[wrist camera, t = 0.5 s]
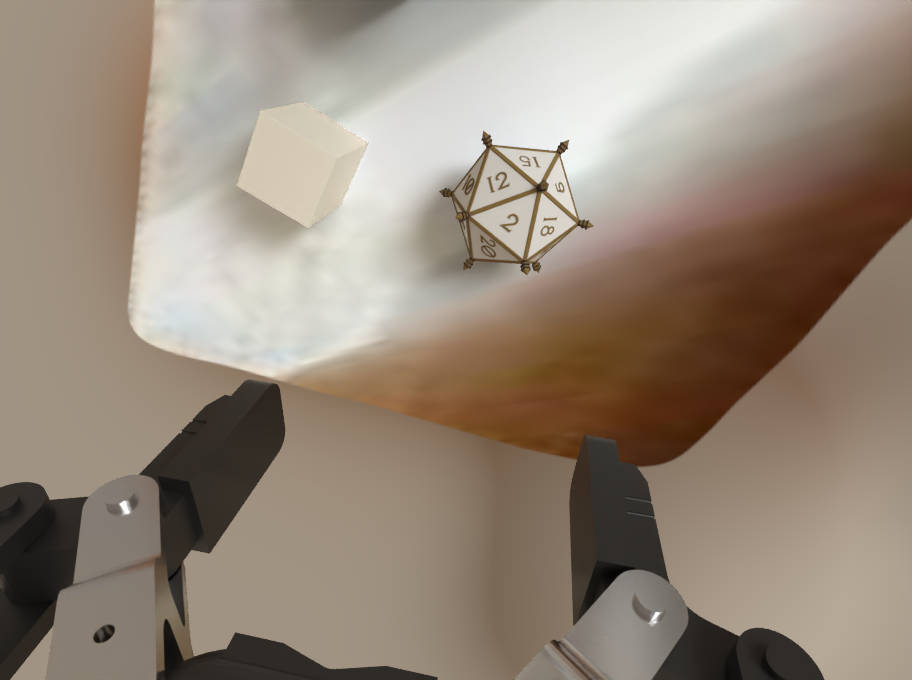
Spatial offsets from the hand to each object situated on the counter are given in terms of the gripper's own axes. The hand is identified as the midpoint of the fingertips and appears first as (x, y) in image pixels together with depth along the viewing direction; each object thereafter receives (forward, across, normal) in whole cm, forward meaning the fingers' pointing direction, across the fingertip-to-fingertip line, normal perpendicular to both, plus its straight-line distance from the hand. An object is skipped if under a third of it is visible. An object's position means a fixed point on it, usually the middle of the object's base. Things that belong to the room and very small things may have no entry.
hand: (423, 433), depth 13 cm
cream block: (+25, +13, -1) cm, 29 cm away
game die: (+26, -1, 0) cm, 26 cm away
